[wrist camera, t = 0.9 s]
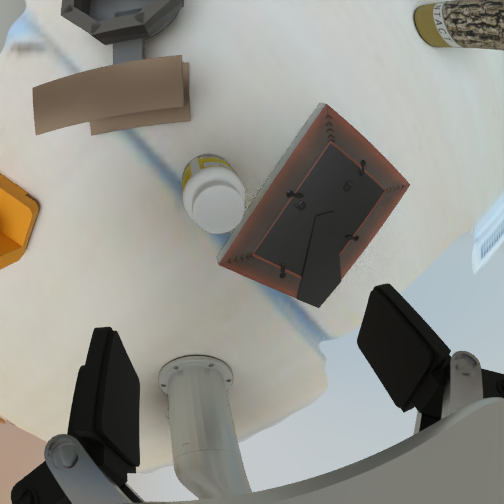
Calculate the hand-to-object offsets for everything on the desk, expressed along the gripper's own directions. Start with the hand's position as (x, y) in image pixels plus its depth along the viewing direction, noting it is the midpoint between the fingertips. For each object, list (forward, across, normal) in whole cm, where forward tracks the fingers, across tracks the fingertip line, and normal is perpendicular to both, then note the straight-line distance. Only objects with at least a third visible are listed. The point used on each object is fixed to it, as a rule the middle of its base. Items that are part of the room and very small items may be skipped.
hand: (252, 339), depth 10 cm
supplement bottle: (+24, 0, 0) cm, 24 cm away
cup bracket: (+23, +6, -15) cm, 28 cm away
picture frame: (+24, -14, +6) cm, 28 cm away
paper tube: (+23, -31, -23) cm, 45 cm away
